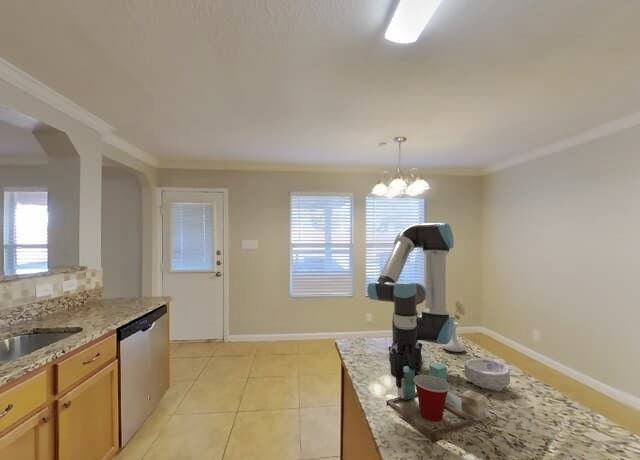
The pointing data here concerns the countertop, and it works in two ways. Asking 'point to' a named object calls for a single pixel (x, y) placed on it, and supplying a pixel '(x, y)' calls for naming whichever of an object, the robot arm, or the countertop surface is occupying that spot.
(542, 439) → the countertop surface
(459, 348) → the flower in vase
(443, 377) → the sled
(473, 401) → the beech cube
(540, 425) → the countertop surface
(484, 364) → the paper bowls
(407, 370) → the frame
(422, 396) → the plastic cup
